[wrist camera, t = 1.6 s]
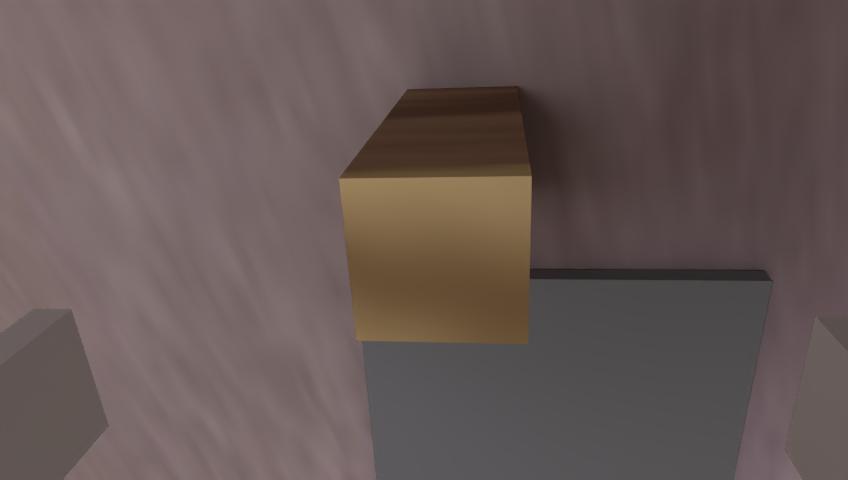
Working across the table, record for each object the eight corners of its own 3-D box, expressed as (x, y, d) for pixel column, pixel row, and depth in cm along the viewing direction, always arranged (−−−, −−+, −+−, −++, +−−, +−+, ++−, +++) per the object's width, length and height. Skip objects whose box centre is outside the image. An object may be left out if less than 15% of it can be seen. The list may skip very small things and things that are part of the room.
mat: (360, 268, 29) (355, 277, 28) (763, 270, 27) (772, 281, 26) (390, 566, 37) (387, 581, 36) (703, 587, 35) (708, 603, 34)
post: (407, 89, 25) (338, 178, 14) (517, 86, 25) (532, 176, 14) (413, 192, 27) (356, 340, 16) (515, 191, 27) (528, 344, 16)
